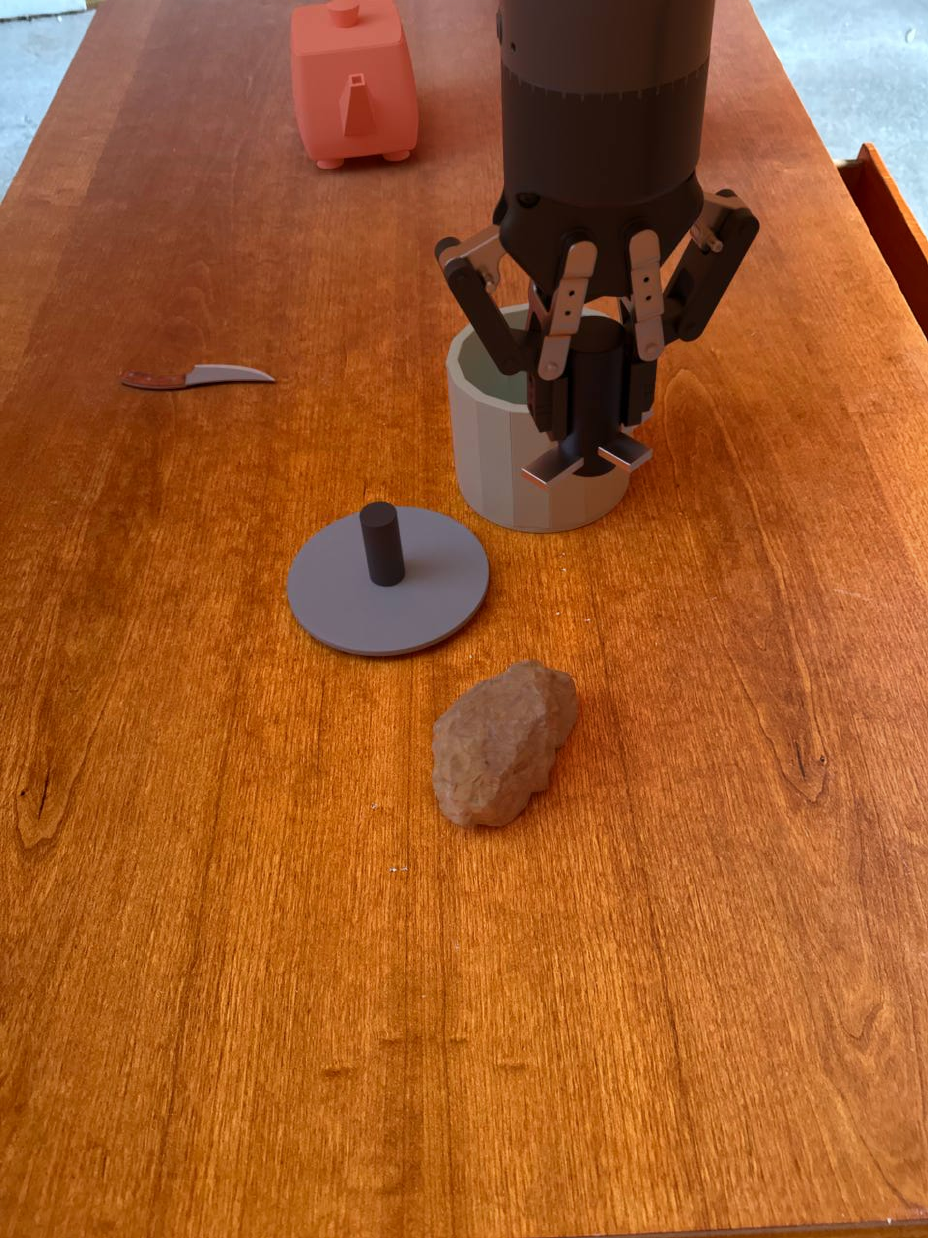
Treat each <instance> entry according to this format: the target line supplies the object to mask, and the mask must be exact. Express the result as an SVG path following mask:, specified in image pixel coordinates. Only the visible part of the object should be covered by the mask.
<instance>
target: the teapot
mask: <svg viewBox="0 0 928 1238" xmlns="http://www.w3.org/2000/svg"><path fill="white" fill-rule="evenodd" d="M290 71H291V73H290V74H291V85H292V86H291V87H292V94H293V95H292V96H293V105H294V112H295V118H296V123H297V127H298V131H299V134H300V138H301V141H302V144H303V146H304V149H305V152H306V154H307V156H308V158H309V159H310V160H311V161H314V162H316V164H317V167H319V168H320V169H323V170H332V169H333V170H334V169H338V168H339V167H341V166H343V165H344V163H345V159H349V158H350V159H351V158H358V157H368V156H375V155H382V158H383V159H384V160H386V161H387V162H399V161H401V162H402V161H404V160H406V159H408V158H409V157H410V155H411V153H410V151H411V150H413V149H415V148H416V145H417V141H418V135H419V134H418V132H419V103H418V102H419V101H418V94H417V86H416V80H415V75H414V73H415V72H414V69H413V63H412V58H411V54H410V50H409V45H408V42H407V38H406V33H405V29H404V26H403V23H402V19H401V16H400V13H399V9H398V7H397V4H396V3H395V1H394V0H330V1H329V2H327V3H326V2H325V3H318V4H310V5H309V4H308V5H302V6H296V7H295V8H294V9H293V11H292V13H291V19H290Z"/></svg>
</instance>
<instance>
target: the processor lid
mask: <svg viewBox="0 0 928 1238" xmlns="http://www.w3.org/2000/svg"><path fill="white" fill-rule="evenodd" d="M489 583H490V565H489V560H488V556H487V553H486V550H485V549H484V547H483V545H482V543H481V541H480V540H479V539H478V537H477V536H476V535H475V534H474V533H473V532H472V531H471V530H470V529H469V528H467V527H466V526H465V525H464V524H462V523H461V522H459V521H458V520H456V519H454V518H452V517H450V516H448V515H446V514H444V513H442V512H438V511H434V510H431V509H428V508H422V507H417V506H416V507H415V506H403V505H402V506H401V505H400V506H399V505H393V503H391V502H388V501H383V500H381V501H379V500H378V501H372V502H369V503H368V504H366V505H364V506H363V507H362V509H360V511H357V512H354V513H350V514H348V515H345V516H344V517H340V518H339V519H337V520H335V521H333V522H331V523H329V524H327V525H326V526H325V527H323V528H322V529H320V530H319V531H318V532H316V533H315V534H314V535H313V536H312V537H310V538H309V539H308V540H307V541H306V542H305V543H304V545H303V546H301V548H300V549H299V551H298V552H297V554H296V555H295V556H294V558H293V560H292V562H291V565H290V567H289V570H288V574H287V580H286V594H287V599H288V603H289V606H290V610H291V612H292V614H293V616H294V618H295V619H296V621H297V622H298V624H299V625H300V627H302V628H303V630H305V631H306V633H307V634H309V636H311V637H312V638H314V639H316V641H318V642H320V643H322V644H324V645H326V646H327V647H330V648H331V649H332V648H333V649H335V650H338V651H340V652H344V653H349V654H352V655H359V656H367V657H385V656H386V657H388V656H391V657H392V656H399V655H404V654H409V653H413V652H417V651H420V650H423V649H426V648H429V647H431V646H435V645H436V644H438V643H440V642H442V641H444V640H446V639H448V638H449V637H451V636H452V635H454V634H455V633H457V632H458V631H459V630H461V629H462V628H463V627H464V626H465V625H467V624H468V623H469V621H470V620H471V619H472V618H473V617H474V616H475V615H476V613H477V611H479V609H480V608H481V606H482V604H483V602H484V600H485V598H486V595H487V592H488V589H489V585H490V584H489Z"/></svg>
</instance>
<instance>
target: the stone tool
mask: <svg viewBox="0 0 928 1238" xmlns="http://www.w3.org/2000/svg"><path fill="white" fill-rule="evenodd" d="M579 704H580V703H579V700H578V693H577V687H576V682H575V680H574V678H573V676H572V675H571V674H570V673H568V671H563V670H558V669H553V668H550V667H547V666H545V665H544V664H543V663H542V662H541V661H540V660H539V659H536V658H529V659H526V660H521V661H517V662H514V663H512V664H510V665H509V667H508V668H507V669H506V670H504V671H503V672H502V673H501V672H500V673H498V674H496V675H494V676H492V677H490V678H486V679H483V680H480V681H478V682H476V683H475V684H473V685H472V687H470V688H469V689H467V690H466V691H465V692H463V693H462V694H461V695H460V696H459V697H457V698H456V700H454V702H453V703H452V704H451V706H450V708H448V710H446V711H444V713H442V714H441V715H440V716H439V717H438V719H437V720H436V721H435V722H434V723H433V726H432V732H433V736H434V737H433V740H432V743H431V752H432V754H433V757H434V758H433V759H434V761H433V763H434V765H433V766H434V767H433V770H432V772H431V782H432V785H431V787H432V788H433V790H434V791H435V796H436V798H437V800H438V808H439V810H440V811H441V813H442V815H443V816H444V817H445V818H446V819H447V820H449V821H451V823H452V824H453V825H456V826H459V827H461V828H464V829H468V830H471V829H474V828H475V826H477V825H485V826H490V827H503V826H506V825H508V824H510V823H512V822H513V821H514V820H516V818H517V817H518V816H519V815H520V813H521V812H522V811H523V810H524V809H525V808H526V807H527V806H528V803H529V801H530V798H531V796H532V794H533V793H541V792H544V791H546V790H547V789H550V783H549V773H550V772H551V770H552V769H553V768H554V766H555V764H556V763H557V755H556V749H560V748H562V747H563V746H564V745H566V744H567V740H568V737H569V735H571V733H572V730H573V728H574V725H575V724H576V723H577V722H578V719H579V714H578V709H579V706H580V705H579Z"/></svg>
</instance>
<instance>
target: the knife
mask: <svg viewBox="0 0 928 1238" xmlns="http://www.w3.org/2000/svg"><path fill="white" fill-rule="evenodd" d="M117 378H118V381H119V382H120V383H121V384H124V385H126V386H127V385H128V386H130V387H136V388H140V389H148V390H175V389H176V390H177V389H183V388H184V389H185V388H186V387H187V386H191V385H198V384H206V383H217V382H232V381H233V382H234V381H235V382H236V381H239V382H240V381H252V382H253V381H256V382H257V381H260V382H261V381H262V382H263V381H264V382H276V380H275V378H273V377H272V376H270V375H269V374H267V373H266V372H263V371H262V370H259V369H256V368H253V367H247V366H242V365H235V364H195V365H194V368H193V370H192V371H191V372H190V373H187V374H186V373H179V374H152V373H146V372H144V371H143V372H142V371H140V370H137V369H135V368H129V369H127V370H124V371H123V372H122V373H120V374H119V375H118V377H117Z"/></svg>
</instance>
